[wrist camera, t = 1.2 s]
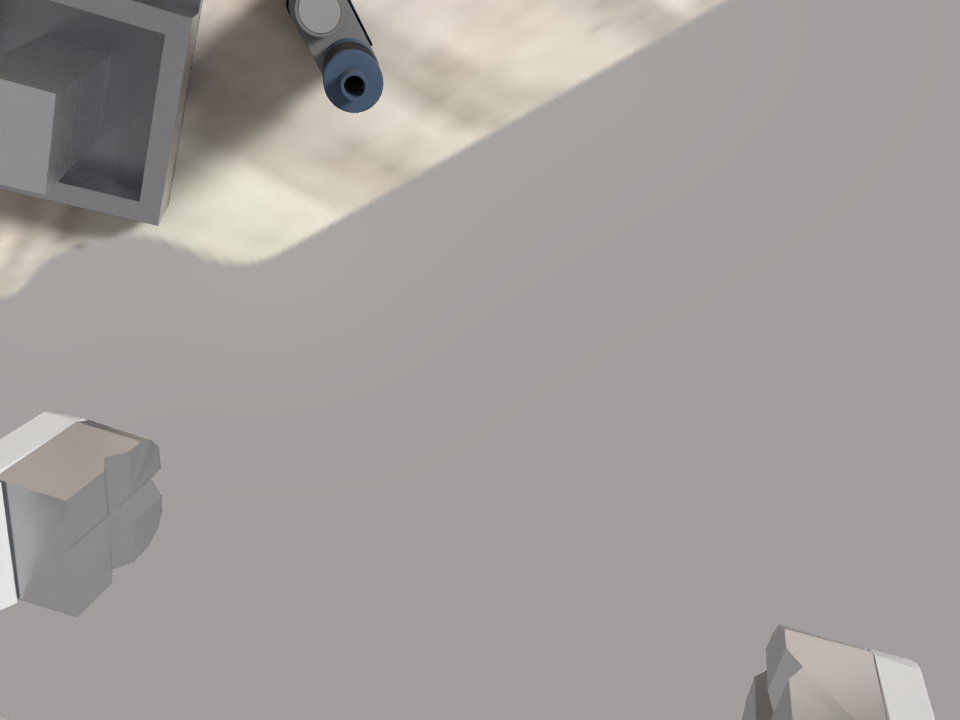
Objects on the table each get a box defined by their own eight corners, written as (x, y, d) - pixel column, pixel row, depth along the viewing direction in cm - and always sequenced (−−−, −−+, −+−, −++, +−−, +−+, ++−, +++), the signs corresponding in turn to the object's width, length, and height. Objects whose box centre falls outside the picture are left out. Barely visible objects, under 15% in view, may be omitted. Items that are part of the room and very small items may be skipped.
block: (35, 119, 41) (-41, 175, 32) (43, 34, 39) (-34, 69, 30) (101, 136, 42) (45, 195, 33) (111, 54, 40) (55, 94, 31)
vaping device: (334, 79, 43) (340, 132, 33) (280, -23, 41) (268, 0, 30) (378, 55, 43) (399, 101, 33) (327, -48, 40) (332, -34, 30)
